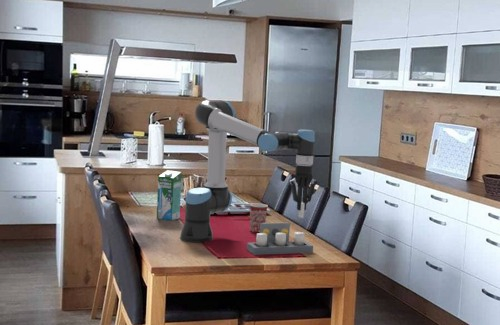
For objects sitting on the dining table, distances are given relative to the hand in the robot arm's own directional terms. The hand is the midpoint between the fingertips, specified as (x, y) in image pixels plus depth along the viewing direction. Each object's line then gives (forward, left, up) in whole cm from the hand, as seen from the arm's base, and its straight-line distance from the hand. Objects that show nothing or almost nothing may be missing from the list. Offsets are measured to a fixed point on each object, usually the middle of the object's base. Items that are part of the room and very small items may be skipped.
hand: (300, 217), depth 297 cm
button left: (-18, 0, -12) cm, 22 cm away
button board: (-9, 0, -16) cm, 18 cm away
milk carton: (-42, +75, -16) cm, 87 cm away
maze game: (+1, +89, -17) cm, 91 cm away
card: (-9, +7, -16) cm, 20 cm away
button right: (0, 0, -12) cm, 12 cm away
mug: (-4, +43, -16) cm, 46 cm away
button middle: (-9, 0, -12) cm, 15 cm away
